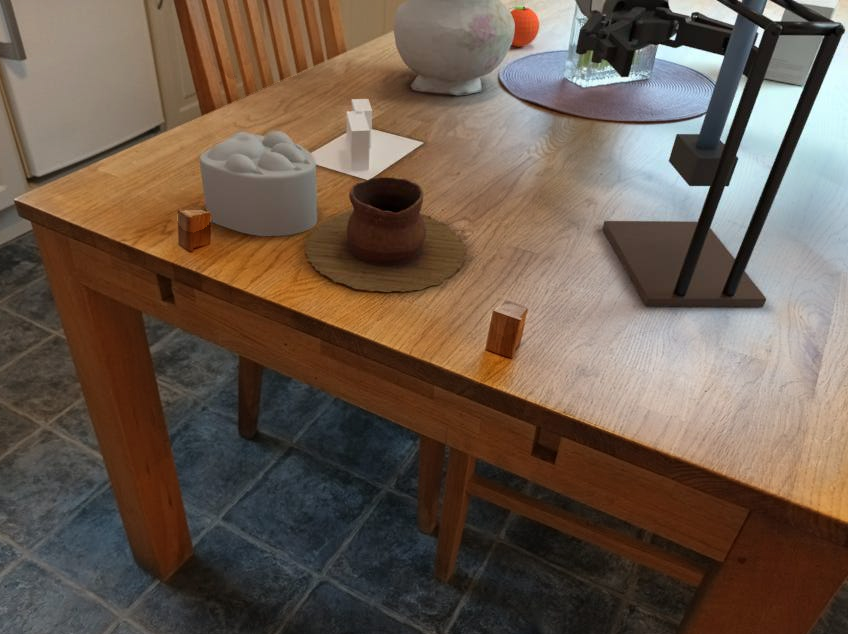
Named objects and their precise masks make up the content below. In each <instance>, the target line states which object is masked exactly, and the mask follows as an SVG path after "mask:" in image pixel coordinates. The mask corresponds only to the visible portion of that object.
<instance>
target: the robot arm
mask: <svg viewBox="0 0 848 634" xmlns="http://www.w3.org/2000/svg"><path fill="white" fill-rule="evenodd" d="M574 1H575V3H576V5H577V7H578V9H579V11H580V13H581V14H582V15H583V17H586V18H587V19H588V20H586V21H585V23H584V24H583V25H582V26H581V27H580V29H579V31H578V32H579V33H578V36H577V37H578V38H577V42H576V47H575V54H577V55H582V56H583V55H586V54H587V53H588V52H589V51H592V55H591V60H590V62H591V63H594V64H601V63H602V62H603V60H604V61H606V62H607V63H608V64H609V65H610V67H612V68H613V69H614V71H615V72H616V73H617V74H618V75H619V76H620V77H621V78H629V77H630V73H631V69H632V65H633V61H634V57H635V53H636V51H639V50H642V49H645V48H647V47H649V46H652V45H653V46H659V45H661V46H665V47H669V48H672V49H677V48H680V47H683V46H684V47H686V48H691V49H696V50H699V51H703V52H707V53H710V54H715V55H719V56H722V57H724V56H725V52H726V49H727V46H728V43H729V40H730V37H731V34H732V31H733V27H734V24H732V23H728V22H725V21H721V20H718V19H715V18H712V17H709V16H707V15H705V14H703V13H701V12H699V11H694V12H691V14H690V15H687V14H683V13H679V12H674V11H673V10H672V9H671V7H670V4H669V0H574ZM759 35H760V34H759V32H758V31H757V32H756V35H755V38H754V41H753V44H752V47H751V50H750V53H749V56H748V59H747V62H746V65H745V68H744V71H743V74H742V76H744V77H745V78H748V75H749V73H750V70H751V67H752V64H753V61H754V58H755V55H756V52H757V50H758V47H759V46H757V45H756V43H757V40H758V37H759ZM674 36H675V37H674ZM672 38H674V39H672Z"/></svg>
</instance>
